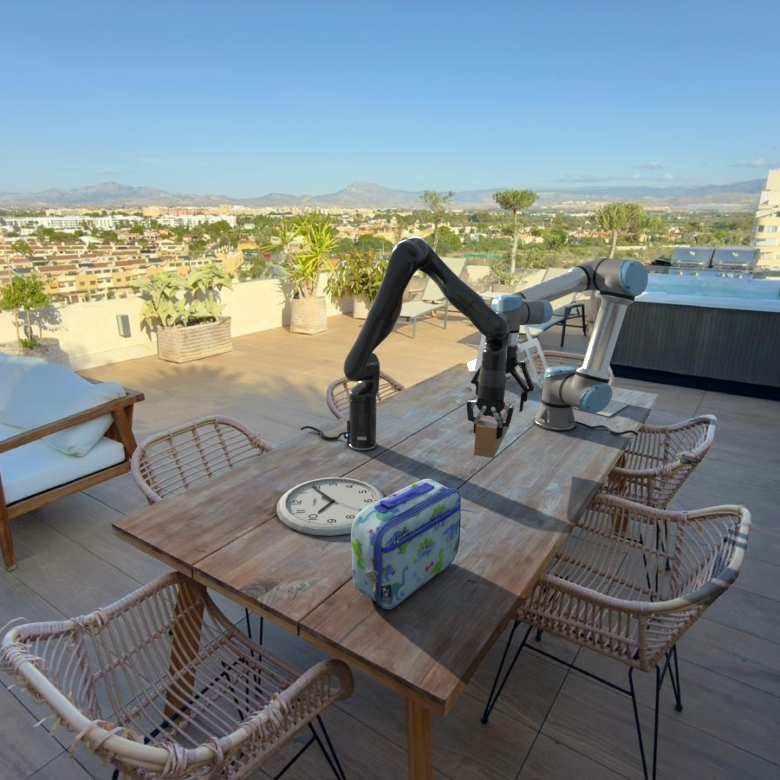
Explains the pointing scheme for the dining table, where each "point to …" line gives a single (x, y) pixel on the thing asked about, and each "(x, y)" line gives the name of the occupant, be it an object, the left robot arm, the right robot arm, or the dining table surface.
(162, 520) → the dining table surface
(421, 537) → the lunch box
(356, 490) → the wall clock
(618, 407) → the invitation card
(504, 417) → the bar
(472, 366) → the white plastic object
